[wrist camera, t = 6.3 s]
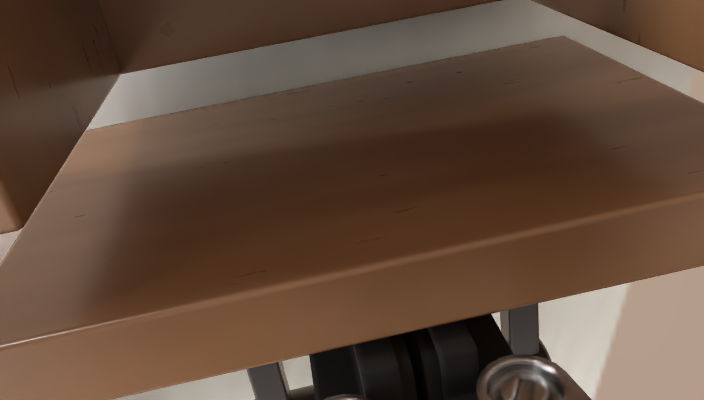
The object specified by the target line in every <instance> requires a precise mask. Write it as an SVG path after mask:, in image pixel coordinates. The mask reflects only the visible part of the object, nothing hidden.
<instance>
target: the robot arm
mask: <svg viewBox="0 0 704 400" xmlns="http://www.w3.org/2000/svg"><path fill="white" fill-rule="evenodd" d="M309 356H310V363H311V371H312V378H313V385H314V392H315V399H316V400H591V399H590V398H589V396H588V395H587V394H586V393H585V392H584V391H583V390H582V389H581V388H580V387H579V385H578V384H577V383H576V382H575V381H574V380H573V379H572V378H571V377H570V376H569V374H568V373H567V372H566V371H564V370H563V369H562V368H561V367H559V366H558V365H557V364H556V363H554V362H551V361H549V360H547V359H545V358H542V357H538V356H533V355H514V353H513V352H512V350H511V348H510V347H509V345H508V343H507V341H506V340H505V338H504V336H503V334H502V333H501V331H500V329H499V327H498V326H497V324H496V322H495V320H494V319H493V317H492V315H491V314H487V315H483V316H478V317H474V318H469V319H465V320H461V321H456V322H452V323H447V324H443V325H438V326H434V327H430V328H425V329H421V330H416V331H412V332H407V333H403V334H399V335H394V336H390V337H385V338H381V339H376V340H372V341H368V342H363V343H359V344H354V345H350V346H345V347H341V348H337V349H332V350H328V351H323V352H319V353H314V354H310V355H309Z"/></svg>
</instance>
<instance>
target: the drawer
mask: <svg viewBox="0 0 704 400" xmlns="http://www.w3.org/2000/svg"><path fill="white" fill-rule="evenodd" d="M496 1H501V0H0V234H4V233H9V232H13V231H18V230H20V229H21V228H23V227H24V228H23V229H22V231H21V233H20V234H19V236H18V237H17V239H16V240H15V242H14V244H13V245H12V247H11V248H10V250H9V252H8V253H7V255H6V256H5V258H4V259H3V261H2V263H1V264H0V400H111V399H115V398H120V397H124V396H129V395H133V394H137V393H142V392H146V391H151V390H155V389H160V388H164V387H168V386H173V385H177V384H182V383H186V382H191V381H195V380H199V379H204V378H208V377H213V376H217V375H221V374H226V373H230V372H235V371H239V370H244V369H247V372H248V376H249V379H250V382H251V385H252V389H253V392H254V395H255V398H256V399H255V400H316V399H315V392H314V385H311V386H307V387H303V388H298V389H294V390H290V389H289V385H288V382H287V378H286V375H285V371H284V367H283V364H282V361H283V360H288V359H292V358H297V357H301V356H306V355H310V354H314V353H319V352H323V351H328V350H332V349H337V348H341V347H345V346H350V345H354V344H359V343H363V342H368V341H372V340H376V339H381V338H385V337H390V336H394V335H399V334H403V333H407V332H412V331H416V330H421V329H425V328H430V327H434V326H438V325H443V324H447V323H452V322H456V321H461V320H465V319H469V318H474V317H478V316H483V315H487V314H492V313H496V312H500V320H501V333H502V334H503V336H504V338H505V340H506V341H507V343H508V345H509V347H510V348H511V350H512V352H513V353H514V355H533V356H538V357H542V358H545V359H547V360H549V361H551V359H550V356H549V354H548V352H547V350H546V348H545V346H544V345H543V343H542V342H541V340H540V339H539V323H538V303H540V302H545V301H549V300H554V299H558V298H562V297H567V296H571V295H576V294H580V293H585V292H589V291H593V290H598V289H602V288H607V287H611V286H616V285H620V284H624V283H629V282H633V281H637V280H642V279H647V278H651V277H655V276H660V275H664V274H668V273H673V272H677V271H682V270H686V269H691V268H695V267H699V266H704V103H702V102H700V101H698V100H696V99H693V98H692V97H689V96H687V95H685V94H683V93H681V92H679V91H677V90H675V89H673V88H671V87H669V86H667V85H665V84H663V83H661V82H659V81H656V80H654V79H652V78H650V77H648V76H646V75H644V74H642V73H640V72H638V71H636V70H634V69H632V68H630V67H628V66H626V65H624V64H621V63H619V62H617V61H615V60H613V59H611V58H609V57H607V56H605V55H603V54H601V53H599V52H597V51H595V50H593V49H591V48H588V47H586V46H584V45H582V44H580V43H578V42H576V41H574V40H572V39H570V38H568V37H566V36H558V37H553V38H548V39H543V40H538V41H533V42H528V43H523V44H518V45H513V46H508V47H503V48H498V49H493V50H488V51H483V52H478V53H473V54H468V55H463V56H458V57H453V58H448V59H443V60H437V61H432V62H427V63H422V64H417V65H412V66H407V67H402V68H397V69H392V70H387V71H382V72H377V73H372V74H367V75H362V76H357V77H352V78H347V79H342V80H337V81H332V82H327V83H322V84H317V85H312V86H307V87H302V88H296V89H291V90H286V91H281V92H276V93H271V94H266V95H261V96H256V97H251V98H246V99H241V100H236V101H231V102H226V103H221V104H216V105H211V106H206V107H201V108H196V109H191V110H186V111H181V112H176V113H171V114H166V115H161V116H155V117H150V118H145V119H140V120H135V121H130V122H125V123H120V124H115V125H110V126H105V127H100V128H95V129H90V130H87V131H85V130H86V128H87V127H88V125H89V124H90V122H91V120H92V119H93V117H94V116H95V114H96V113H97V111H98V109H99V108H100V106H101V105H102V103H103V102H104V100H105V98H106V97H107V95H108V94H109V92H110V91H111V89H112V87H113V86H114V84H115V83H116V81H117V80H118V78H119V76H120V75H121V74H125V73H130V72H135V71H140V70H145V69H150V68H156V67H161V66H166V65H171V64H176V63H181V62H187V61H192V60H197V59H202V58H207V57H212V56H218V55H223V54H228V53H233V52H238V51H243V50H249V49H254V48H259V47H264V46H269V45H274V44H279V43H285V42H290V41H295V40H300V39H305V38H310V37H316V36H321V35H326V34H331V33H336V32H341V31H347V30H352V29H357V28H362V27H367V26H372V25H378V24H383V23H388V22H393V21H398V20H403V19H409V18H414V17H419V16H424V15H429V14H434V13H440V12H445V11H450V10H455V9H460V8H465V7H471V6H476V5H481V4H486V3H491V2H496ZM532 1H534V2H537V3H539V4H542V5H544V6H546V7H549V8H551V9H554V10H556V11H558V12H561V13H563V14H566V15H568V16H570V17H573V18H575V19H578V20H580V21H582V22H585V23H587V24H590V25H592V26H594V27H597V28H599V29H602V30H604V31H606V32H609V33H611V34H613V35H616V36H618V37H621V38H623V39H625V40H628V41H630V42H633V43H635V44H637V45H640V46H642V47H645V48H647V49H649V50H652V51H654V52H657V53H659V54H661V55H664V56H666V57H669V58H671V59H673V60H676V61H678V62H681V63H683V64H685V65H688V66H690V67H693V68H695V69H697V70H700V71H702V72H704V0H532ZM84 131H85V132H84ZM81 136H82V137H81ZM79 139H80V140H79ZM77 142H78V143H77ZM74 147H75V148H74ZM72 150H73V151H72ZM70 153H71V154H70ZM67 158H68V159H67ZM65 161H66V162H65ZM63 164H64V165H63ZM62 166H63V167H62ZM60 169H61V170H60ZM58 172H59V173H58ZM56 175H57V176H56ZM55 177H56V178H55ZM53 180H54V181H53ZM51 183H52V184H51ZM49 186H50V187H49ZM48 188H49V189H48ZM46 191H47V192H46ZM44 194H45V195H44ZM42 197H43V198H42ZM41 199H42V200H41ZM39 202H40V203H39ZM37 205H38V206H37ZM35 208H36V209H35ZM34 210H35V211H34ZM32 213H33V214H32ZM30 216H31V217H30ZM28 219H29V220H28ZM27 221H28V222H27ZM25 224H26V225H25ZM551 362H552V361H551Z"/></svg>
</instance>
